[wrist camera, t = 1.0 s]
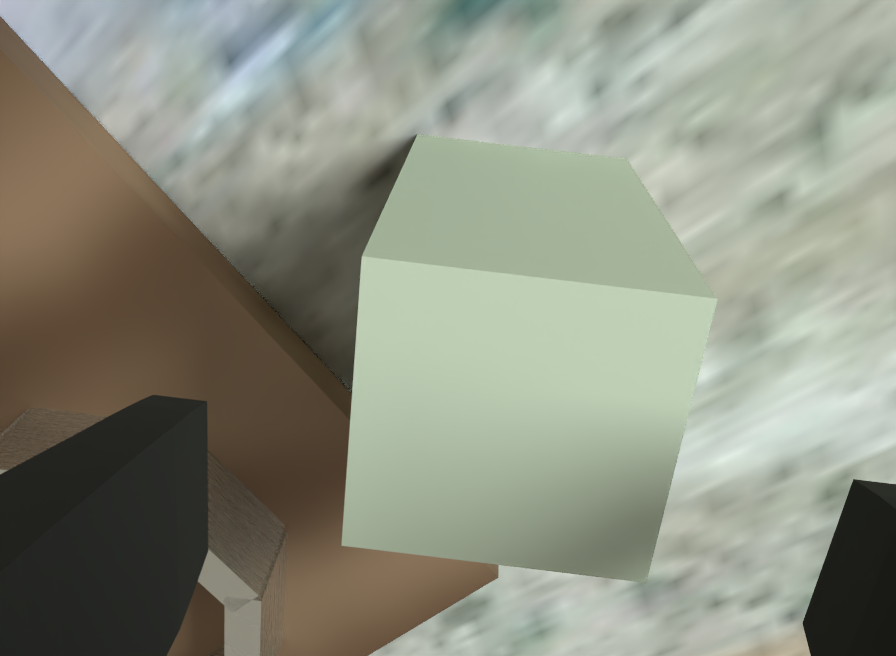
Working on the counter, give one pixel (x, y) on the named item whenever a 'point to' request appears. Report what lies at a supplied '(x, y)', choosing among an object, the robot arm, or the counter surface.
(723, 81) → the counter surface
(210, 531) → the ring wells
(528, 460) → the sage plug
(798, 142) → the counter surface
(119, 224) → the walnut board
